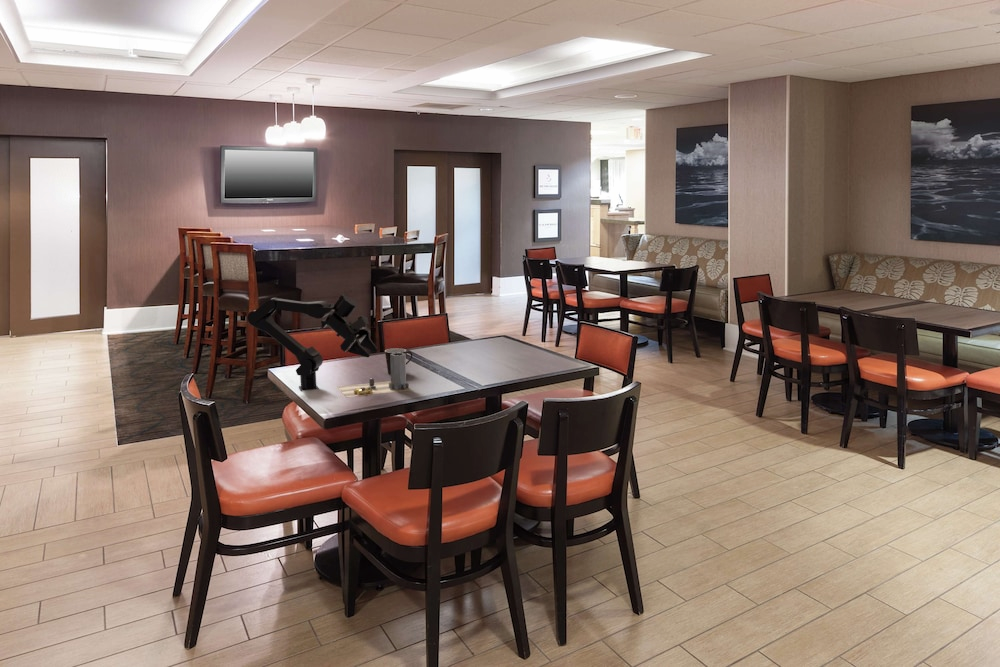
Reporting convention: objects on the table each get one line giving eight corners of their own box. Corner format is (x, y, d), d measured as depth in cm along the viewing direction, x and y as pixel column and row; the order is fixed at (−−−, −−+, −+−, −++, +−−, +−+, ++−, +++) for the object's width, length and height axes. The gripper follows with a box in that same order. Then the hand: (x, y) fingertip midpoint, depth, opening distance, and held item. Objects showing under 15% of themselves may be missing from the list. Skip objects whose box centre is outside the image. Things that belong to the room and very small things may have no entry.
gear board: (337, 388, 284) (337, 386, 283) (400, 381, 294) (400, 380, 293) (346, 398, 269) (346, 397, 269) (413, 391, 279) (413, 389, 279)
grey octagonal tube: (387, 390, 278) (386, 356, 276) (390, 385, 286) (389, 352, 283) (407, 390, 278) (406, 356, 276) (409, 385, 285) (409, 352, 283)
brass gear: (352, 391, 277) (351, 386, 276) (369, 389, 279) (369, 384, 279) (356, 396, 271) (356, 391, 270) (374, 394, 273) (374, 389, 273)
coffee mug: (386, 377, 299) (386, 353, 298) (384, 372, 308) (383, 349, 306) (415, 375, 302) (415, 351, 301) (412, 371, 311) (411, 347, 309)
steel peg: (367, 387, 283) (367, 377, 282) (374, 386, 284) (374, 377, 283) (369, 388, 280) (368, 379, 280) (376, 388, 282) (376, 378, 281)
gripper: (344, 314, 265) (377, 342, 265) (362, 306, 283) (393, 332, 283) (326, 337, 268) (359, 365, 268) (345, 328, 286) (376, 354, 286)
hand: (373, 353), depth 276 cm, fingers open, 9 cm apart
